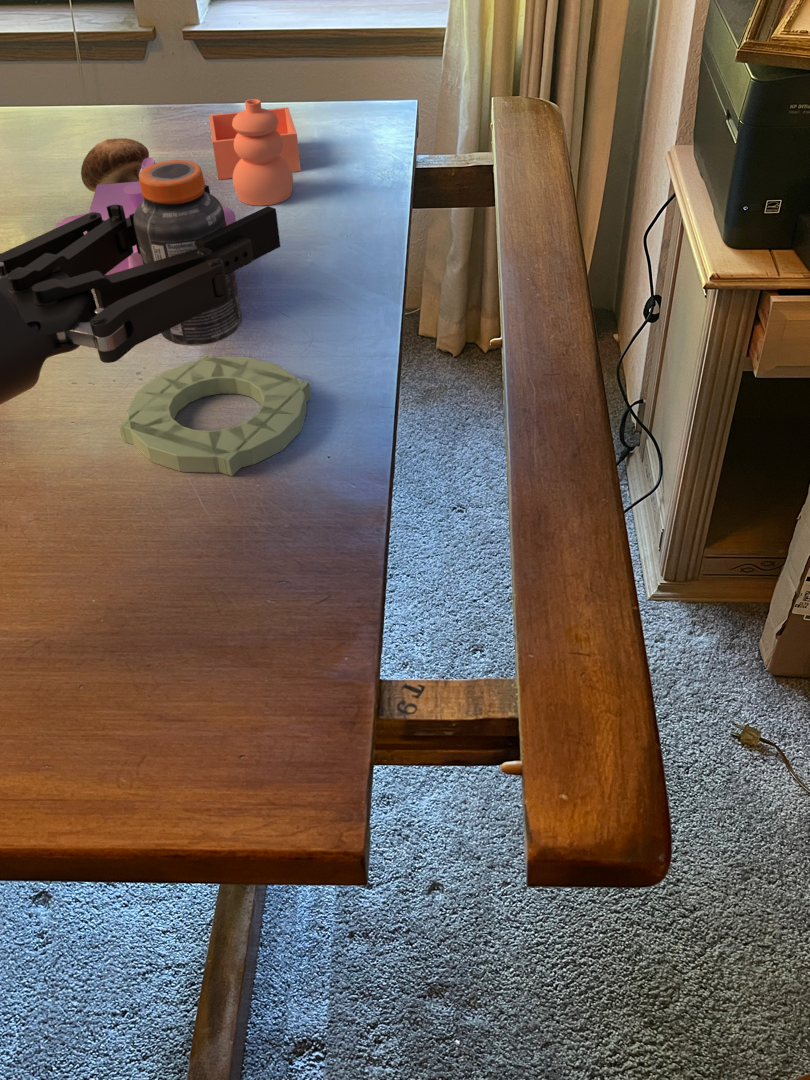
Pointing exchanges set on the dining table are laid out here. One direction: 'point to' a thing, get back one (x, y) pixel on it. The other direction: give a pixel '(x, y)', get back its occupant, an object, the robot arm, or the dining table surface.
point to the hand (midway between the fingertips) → (240, 215)
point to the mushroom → (113, 162)
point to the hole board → (221, 448)
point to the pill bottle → (184, 239)
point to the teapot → (126, 210)
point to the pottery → (256, 152)
